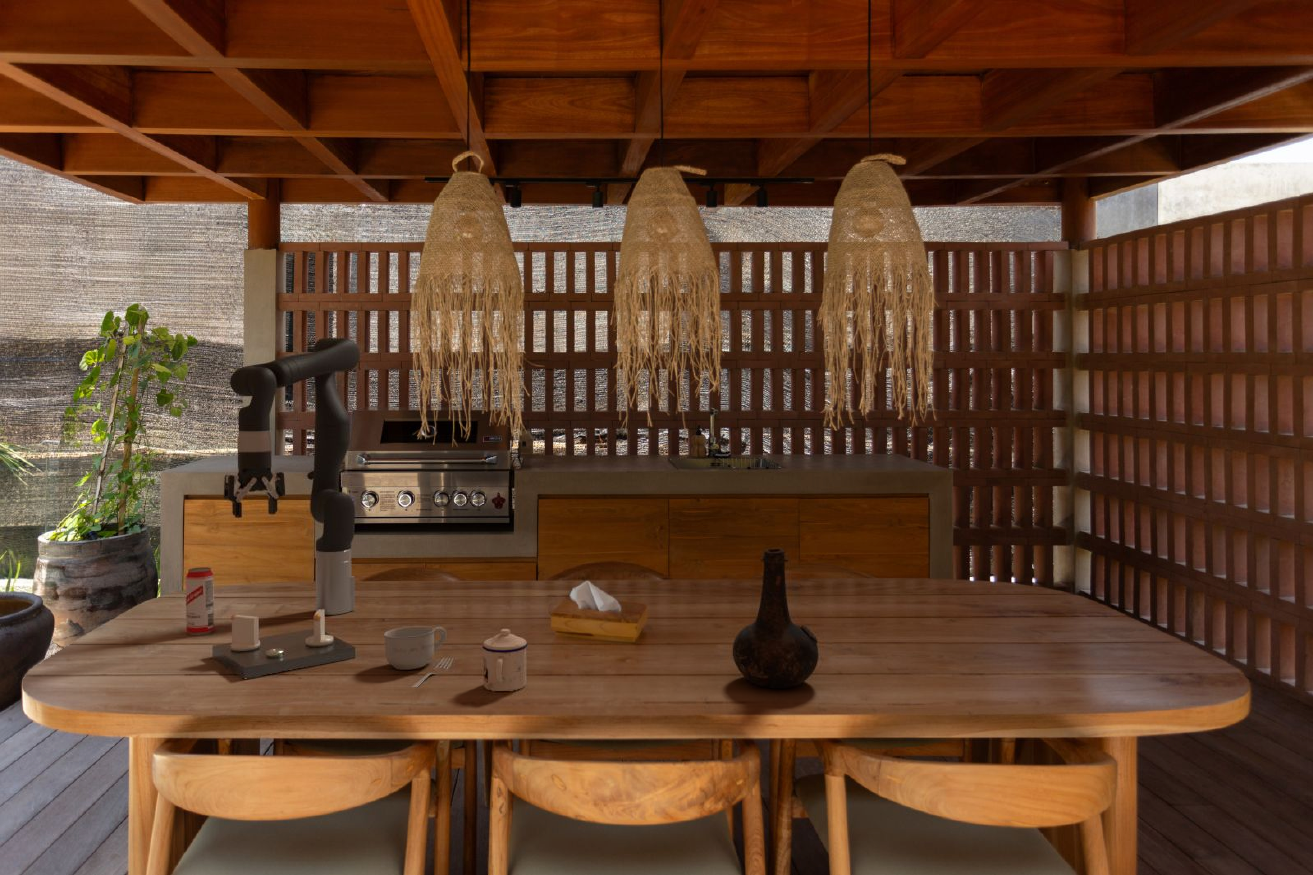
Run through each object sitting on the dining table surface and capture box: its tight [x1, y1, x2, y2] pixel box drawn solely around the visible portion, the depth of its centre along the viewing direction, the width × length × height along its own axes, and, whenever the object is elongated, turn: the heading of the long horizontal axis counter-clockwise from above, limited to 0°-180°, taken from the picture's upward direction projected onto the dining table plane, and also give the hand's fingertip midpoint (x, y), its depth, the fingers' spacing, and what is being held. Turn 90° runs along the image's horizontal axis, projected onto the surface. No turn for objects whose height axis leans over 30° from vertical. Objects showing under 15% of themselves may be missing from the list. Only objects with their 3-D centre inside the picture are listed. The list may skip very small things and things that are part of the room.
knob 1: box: [230, 614, 260, 651], centre depth 201 cm, size 7×6×7 cm
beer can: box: [185, 566, 216, 636], centre depth 223 cm, size 6×6×16 cm
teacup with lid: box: [482, 628, 528, 692], centre depth 182 cm, size 12×9×12 cm
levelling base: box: [211, 628, 356, 680], centre depth 203 cm, size 24×22×4 cm
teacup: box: [383, 625, 448, 670], centre depth 198 cm, size 14×11×8 cm
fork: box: [411, 657, 454, 688], centre depth 187 cm, size 3×24×2 cm, turn 169°
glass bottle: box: [732, 548, 819, 689], centre depth 187 cm, size 18×18×28 cm
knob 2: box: [305, 609, 334, 646], centre depth 205 cm, size 7×6×7 cm
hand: (255, 515), depth 218 cm, fingers open, 8 cm apart
